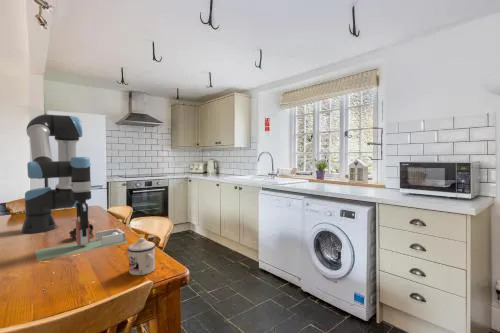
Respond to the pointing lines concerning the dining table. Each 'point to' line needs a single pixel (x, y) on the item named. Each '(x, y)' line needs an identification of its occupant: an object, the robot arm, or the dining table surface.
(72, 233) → the pottery mug
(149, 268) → the teacup with lid
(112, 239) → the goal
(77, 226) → the red tall block
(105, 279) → the dining table surface
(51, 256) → the felt mat
